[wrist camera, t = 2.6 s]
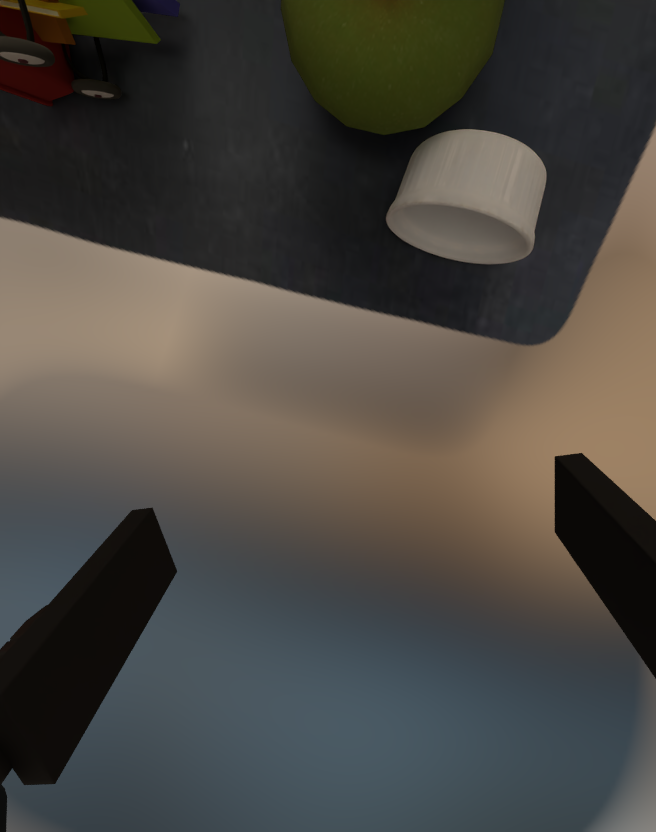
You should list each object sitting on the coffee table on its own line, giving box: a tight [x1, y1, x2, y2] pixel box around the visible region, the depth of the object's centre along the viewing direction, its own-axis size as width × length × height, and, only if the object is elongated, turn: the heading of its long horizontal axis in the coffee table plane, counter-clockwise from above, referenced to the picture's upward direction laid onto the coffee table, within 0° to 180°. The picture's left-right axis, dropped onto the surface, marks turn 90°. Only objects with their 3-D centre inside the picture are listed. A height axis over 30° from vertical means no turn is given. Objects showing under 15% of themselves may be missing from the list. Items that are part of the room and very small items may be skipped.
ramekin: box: [386, 129, 546, 264], centre depth 26 cm, size 9×9×4 cm
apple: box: [281, 0, 505, 135], centre depth 22 cm, size 11×10×10 cm
